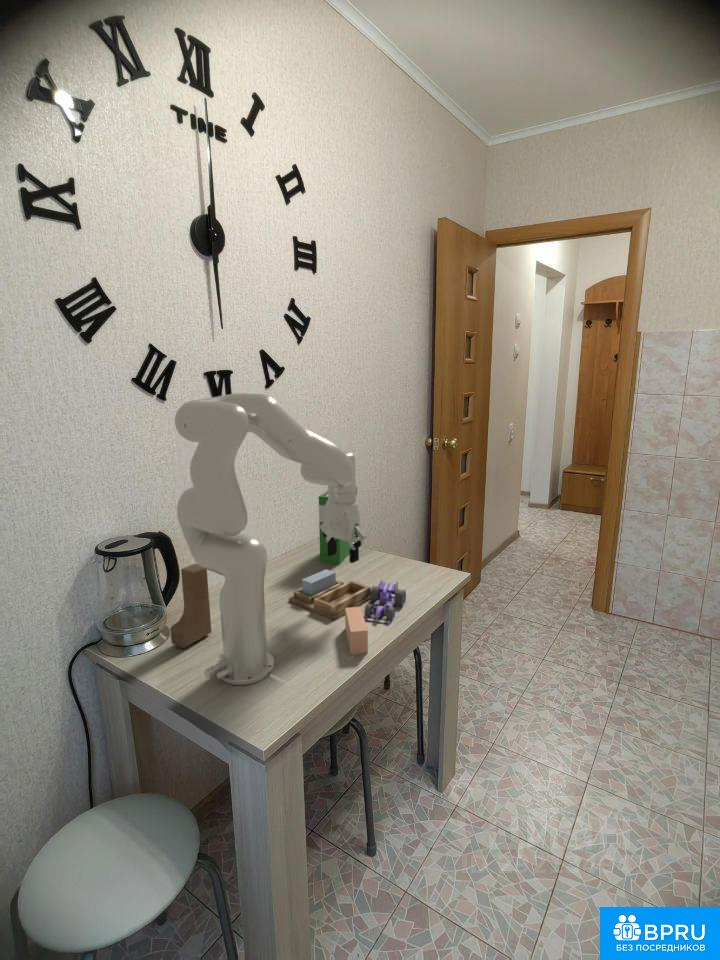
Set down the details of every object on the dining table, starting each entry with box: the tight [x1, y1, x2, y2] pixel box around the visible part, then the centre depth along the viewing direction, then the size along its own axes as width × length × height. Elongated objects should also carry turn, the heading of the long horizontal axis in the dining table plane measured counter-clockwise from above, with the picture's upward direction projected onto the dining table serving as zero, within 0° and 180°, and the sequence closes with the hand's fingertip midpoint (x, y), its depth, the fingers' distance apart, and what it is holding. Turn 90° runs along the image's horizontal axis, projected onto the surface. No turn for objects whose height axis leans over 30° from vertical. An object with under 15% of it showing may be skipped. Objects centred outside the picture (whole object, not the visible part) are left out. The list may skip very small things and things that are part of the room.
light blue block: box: [301, 568, 337, 597], centre depth 146 cm, size 10×4×5 cm, turn 140°
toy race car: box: [364, 579, 407, 626], centre depth 136 cm, size 10×15×6 cm, turn 162°
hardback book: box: [318, 486, 358, 565], centre depth 175 cm, size 18×7×24 cm, turn 161°
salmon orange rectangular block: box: [344, 606, 369, 655], centre depth 121 cm, size 12×4×6 cm, turn 8°
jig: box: [288, 580, 372, 621], centre depth 143 cm, size 17×18×4 cm
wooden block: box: [169, 563, 212, 649], centre depth 121 cm, size 9×4×18 cm, turn 148°
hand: (343, 557), depth 137 cm, fingers open, 7 cm apart
